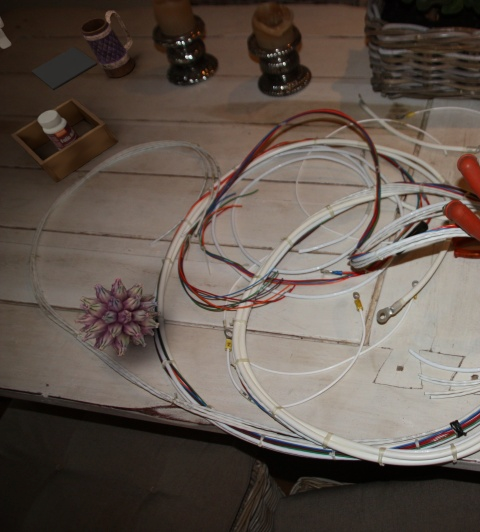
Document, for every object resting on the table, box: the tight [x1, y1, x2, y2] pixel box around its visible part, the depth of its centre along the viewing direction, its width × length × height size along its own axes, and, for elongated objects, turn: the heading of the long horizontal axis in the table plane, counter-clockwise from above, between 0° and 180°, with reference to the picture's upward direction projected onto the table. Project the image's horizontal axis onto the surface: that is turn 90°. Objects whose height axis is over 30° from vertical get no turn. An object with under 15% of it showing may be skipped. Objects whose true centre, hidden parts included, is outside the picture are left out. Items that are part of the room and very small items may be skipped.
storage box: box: [10, 97, 119, 183], centre depth 115 cm, size 15×15×5 cm
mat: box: [31, 46, 98, 91], centre depth 134 cm, size 12×12×1 cm
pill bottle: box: [37, 109, 80, 151], centre depth 113 cm, size 5×5×8 cm
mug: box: [80, 10, 135, 79], centre depth 127 cm, size 10×7×12 cm
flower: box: [73, 277, 161, 357], centre depth 83 cm, size 12×12×12 cm
